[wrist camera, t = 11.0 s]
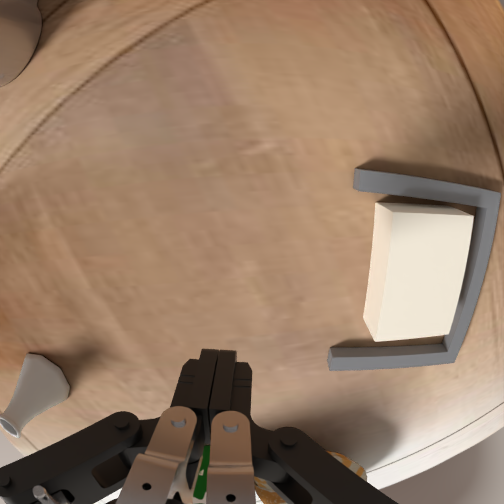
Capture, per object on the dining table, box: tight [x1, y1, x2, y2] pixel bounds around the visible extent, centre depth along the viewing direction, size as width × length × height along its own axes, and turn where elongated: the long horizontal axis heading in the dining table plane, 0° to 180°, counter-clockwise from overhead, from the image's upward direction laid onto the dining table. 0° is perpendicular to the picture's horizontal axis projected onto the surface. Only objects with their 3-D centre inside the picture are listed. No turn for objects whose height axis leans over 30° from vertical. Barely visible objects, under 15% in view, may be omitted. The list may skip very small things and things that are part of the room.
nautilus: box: [254, 451, 367, 504], centre depth 31 cm, size 8×22×15 cm
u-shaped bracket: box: [327, 168, 501, 371], centre depth 24 cm, size 17×14×2 cm
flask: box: [0, 354, 70, 438], centre depth 26 cm, size 7×7×10 cm
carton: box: [363, 202, 474, 342], centre depth 23 cm, size 10×7×4 cm
